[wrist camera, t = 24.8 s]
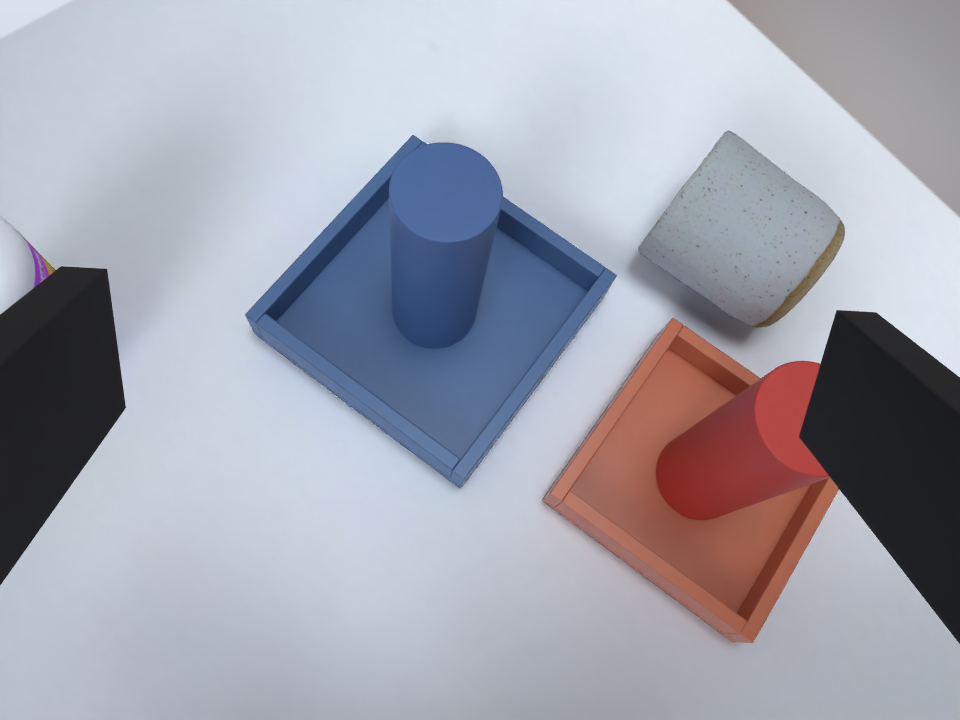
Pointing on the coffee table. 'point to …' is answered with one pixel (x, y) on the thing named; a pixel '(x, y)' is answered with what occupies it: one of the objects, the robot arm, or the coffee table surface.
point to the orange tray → (653, 522)
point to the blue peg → (441, 240)
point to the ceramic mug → (745, 234)
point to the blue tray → (419, 370)
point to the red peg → (743, 448)
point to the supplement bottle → (18, 266)
